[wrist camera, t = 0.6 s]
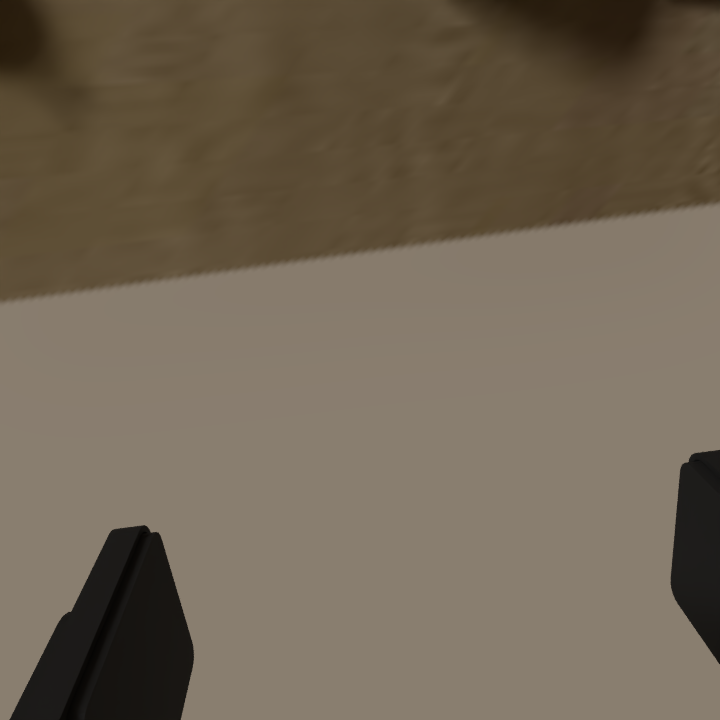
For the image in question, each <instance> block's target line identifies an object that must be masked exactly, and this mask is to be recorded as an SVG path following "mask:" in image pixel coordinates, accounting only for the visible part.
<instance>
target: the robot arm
mask: <svg viewBox="0 0 720 720" xmlns="http://www.w3.org/2000/svg"><path fill="white" fill-rule="evenodd" d="M671 588H672V592H673V595H674V597H675V600H676V601H677V603H678V605H679V606H680V607H681V609H682V610H683V612H684V613H685V615H686V616H687V618H688V619H689V621H690V622H691V623H692V625H693V626H694V628H695V629H696V631H697V632H698V634H699V635H700V636H701V638H702V639H703V641H704V642H705V643H706V645H707V646H708V648H709V649H710V651H711V652H712V654H713V655H714V656H715V658H716V660H717V661H718V663H719V664H720V450H716V451H708V452H701V453H695V454H693V455H691V457H690V459H689V462H688V463H684V464H683V465H682V467H681V469H680V479H679V490H678V502H677V513H676V525H675V536H674V548H673V559H672V571H671ZM193 661H194V650H193V644H192V640H191V637H190V633H189V630H188V627H187V623H186V620H185V616H184V613H183V609H182V606H181V603H180V599H179V596H178V593H177V589H176V586H175V582H174V579H173V576H172V572H171V569H170V565H169V562H168V559H167V555H166V552H165V549H164V545H163V542H162V539H161V536H160V534H159V533H157V532H153V533H151V532H150V530H149V528H148V527H147V526H145V525H143V526H135V527H128V528H120V529H114V530H112V531H111V532H110V534H109V536H108V538H107V540H106V542H105V544H104V546H103V548H102V550H101V552H100V554H99V556H98V558H97V560H96V562H95V565H94V567H93V568H92V571H91V573H90V575H89V577H88V579H87V581H86V583H85V585H84V587H83V589H82V591H81V593H80V595H79V597H78V599H77V601H76V603H75V605H74V607H73V610H72V611H71V612H68V613H67V614H65V615H64V616H63V617H62V618H61V620H60V621H59V623H58V625H57V626H56V628H55V631H54V633H53V635H52V636H51V638H50V640H49V642H48V644H47V646H46V648H45V650H44V653H43V654H42V656H41V658H40V660H39V662H38V665H37V666H36V668H35V670H34V672H33V674H32V676H31V678H30V680H29V682H28V684H27V686H26V688H25V690H24V692H23V694H22V696H21V698H20V700H19V702H18V704H17V706H16V708H15V710H14V712H13V714H12V716H11V718H10V720H181V716H182V711H183V707H184V703H185V698H186V693H187V690H188V685H189V681H190V676H191V672H192V668H193Z"/></svg>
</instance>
